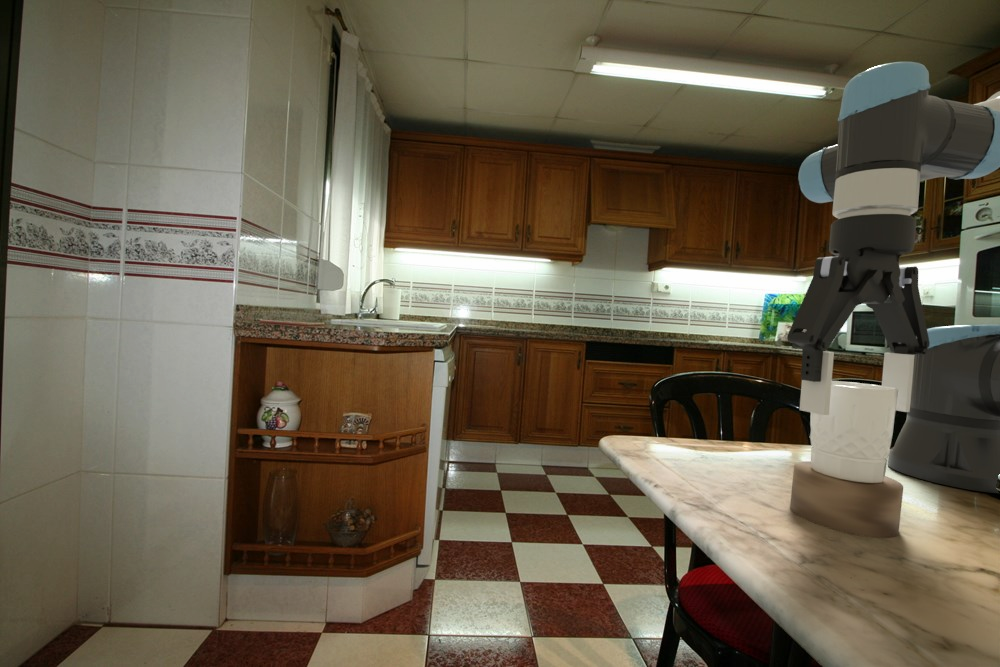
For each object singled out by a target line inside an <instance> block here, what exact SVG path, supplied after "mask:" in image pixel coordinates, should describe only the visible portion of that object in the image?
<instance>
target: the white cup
mask: <svg viewBox="0 0 1000 667" xmlns="http://www.w3.org/2000/svg"><path fill="white" fill-rule="evenodd" d="M898 391H899V390H898V389H896V388H892V387H886V386H882V385H880V384H879V385H878V384H872V383H871V384H870V383H863V382H862V383H860V382H854V381H853V382H852V381H841V380H840V381H839V380H832V383H831V395H830V407H829V415H820V414H816V413H811V412H810V422H809V425H810V435H809V436H810V437H809V438H810V439H809V440H810V445H811V448H810V461H811V468H812V469H813V470H814V471H817V472H819V473H821V474H824V475H827V476H831V477H835V478H839V479H844V480H849V481H855V482H864V483H881V482H882V481H883V480H884V479H885V476H886V470H887V465H888V457H889V452H890V450H891V446H892V439H893V433H894V427H895V426H894V425H895V418H896V412H897V410H896V405H897V398H898Z"/></svg>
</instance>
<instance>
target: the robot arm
mask: <svg viewBox="0 0 1000 667" xmlns="http://www.w3.org/2000/svg"><path fill="white" fill-rule="evenodd" d="M931 86H932V85H931V83H930V73H929V70H928V69H927V67H926V66H925V65H924V64H922V63H920V62H914V61H896V62H889V63H884V64H879V65H877V66H874V67H871V68H868V69H867V70H865V71H862V72H860V73H858V74H856V75H855V76H854V77H852V78H851V79H850V80H849V81H848V82H847V83H846V84H845V87H844V89H843V92H842V93H843V94H842V96H841V97H842V98H841V105H840V108H839V109H840V110H839V116H838V117H837V122H838V131H837V132H838V134H837V144H834V145H831V146H827V147H823V148H822V149H820V150H818V151H816V152H813V153H811V154H810V155H808V156H807V157H806V158H805V159H804V160H803V162H802V163H801V165H800V167H799V171H798V178H797V179H798V185H799V188H800V191H801V193H802V194H803V196H804V197H805V198H807V199H808V200H809V201H811V202H814V203H817V204H824V203H829V202H833V204H832V216H833V217H835V218H836V219H835V220H834V221H833V222H831V224H830V233H829V245H828V246H829V247H828V251H829V253H830V254H831V255H833V256H825V257H818V258H816V259H815V263H814V269H813V274H812V279H811V281H810V283H809V285H808V288H807V290H806V292H805V295H804V297H803V298H802V301H801V303H800V306H799V308H798V311H797V313H796V315H795V318H794V320H793V321H792V324H791V326H790V329H789V331H788V333H787V337H786V338H787V341H788V342H789V343H790V344H792V345H791V346H792V348H794V349H797V350H801V351H802V353H801V354H802V355H801V368H800V378H801V384H800V385H801V386H800V387H801V389H800V398H799V411H803V412H807V413H810V414H811V413H816V414H820V415H829V407H830V395H831V383H832V381H833V368H834V358H835V357H834V355H835V352H833V351H828V349H829V347H830V346H831V344H832V343H833V341H834V340H835V339H836V337H837V335H838V334H839V332H840V331H841V329H842V328H843V327H844V325H845V324H846V323H847V320H849V318H850V316H851V314H852V313H853V312H854V310H855V309H856V307H857V306H860V305H863V304H865V306H866V307H868V308H870V309H872V311H873V313H874V315H875V318H876V319H877V323H878V325H879V327H880V329H881V332H882V333H883V336H884V338H885V340H886V343H887V345H888V347H889V350H890V351H891V352H884V355H883V366H882V377H881V386H886V387H892V388H896V389H898V390H899V391H898V398H897V405H896V412H897V411H898V412H903V413H906V420H905V422H904V424H903V426H902V428H901V430H900V432H899V434H898V436H897V439H895V440H896V441H895V443H894V446H893V447H890V452H889V456H888V458H887V465H888V467H889V468H891V469H893V470H895V471H897V472H898V473H902V474H904V475H907V476H911V477H914V478H916V479H920V480H923V481H927V482H932V483H935V484H941V485H945V486H950V487H953V488H959V489H965V490H969V491H977V492H983V493H989V494H990V493H992V494H1000V493H999V492H998V490H997V489H996V484H997V480H998V475H999V474H1000V324H962V325H960V324H958V325H948V326H947V325H946V326H935V327H931V328H930V327H929V328H927V324H926V318H925V313H924V309H923V304H922V300H921V294H920V289H919V269H918V267H917V266H916V265H915V266H900V260H899V258H900V257H901V256H903V255H907V254H910V253H912V251H914V249H915V242H916V231H917V230H916V229H917V219H915V218H914V217H913V216H912V215H913V214H915V213H916V212H918V210H919V196H920V183H921V182H924V181H927V180H932V179H935V178H937V179H938V178H948V179H950V180H961V179H962V180H963V179H964V180H967V179H968V180H973V179H978V178H981V177H985V176H987V175H990V174H991V173H993V172H995V171H996V170H998V169H999V168H1000V90H999V91H997V92H995V93H994V94H992V95H991V96H990V97H989V98H988V99H986V100H985V101H981V102H977V103H974V104H971V103H967V102H961V101H956V100H950V99H943V98H940V97H938V96H936V95H930V94H929V91H930V90H931ZM804 330H805V331H804Z"/></svg>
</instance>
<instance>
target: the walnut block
mask: <svg viewBox="0 0 1000 667" xmlns="http://www.w3.org/2000/svg"><path fill="white" fill-rule="evenodd" d="M792 471H793V472H792V473H793V474H792V482H791V484H792V485H791V493H790V503H789V508H790V510H791V511H792V512H793V513H794V514H795V515H797V516H799V517H801V518H802V519H805V521H808V522H810V523H813V524H815V525H818V526H821V527H822V528H827V529H830V530H833V531H836V532H840V533H844V534H848V535H854V536H858V537H865V538H873V539H875V538H876V539H887V538H893V537H896V536H898V535H899V532H900V524H901V523H900V522H901V515H902V514H901V512H902V503H903V497H904V496H903V494H904V485H903V484H902V483H901V482H900V481H898V480H896V479H893V478H892V477H888V476H886V475H885V479H884V480H883V481H882V482H881V483H864V482H855V481H849V480H844V479H839V478H835V477H831V476H827V475H824V474H821V473H819V472H817V471H814V470H813V469H812V468H811V460H808V461H807V460H806V461H798V462H795V463H794V464H793V470H792Z"/></svg>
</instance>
